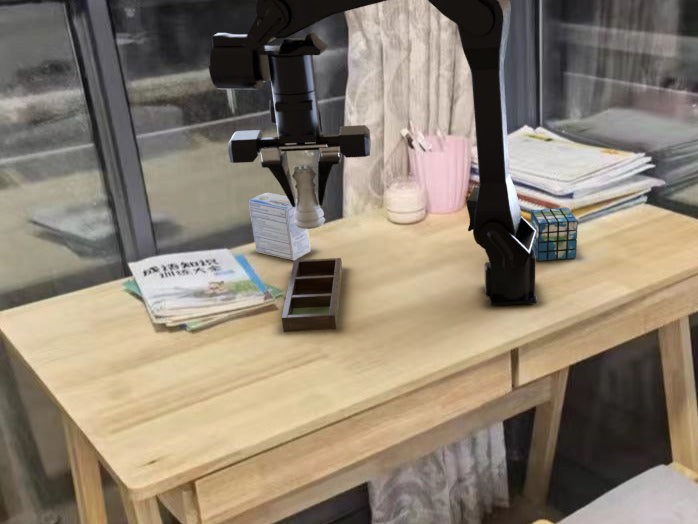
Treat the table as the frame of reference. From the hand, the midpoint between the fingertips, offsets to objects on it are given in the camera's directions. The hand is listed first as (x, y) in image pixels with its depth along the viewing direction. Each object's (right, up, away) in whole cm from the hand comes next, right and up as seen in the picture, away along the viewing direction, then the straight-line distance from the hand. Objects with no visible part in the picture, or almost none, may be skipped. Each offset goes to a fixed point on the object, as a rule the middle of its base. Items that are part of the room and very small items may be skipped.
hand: (307, 205), depth 132 cm
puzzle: (+36, -4, +14) cm, 39 cm away
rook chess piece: (0, -2, +2) cm, 3 cm away
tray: (+1, -13, +3) cm, 13 cm away
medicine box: (-6, -3, +18) cm, 19 cm away
